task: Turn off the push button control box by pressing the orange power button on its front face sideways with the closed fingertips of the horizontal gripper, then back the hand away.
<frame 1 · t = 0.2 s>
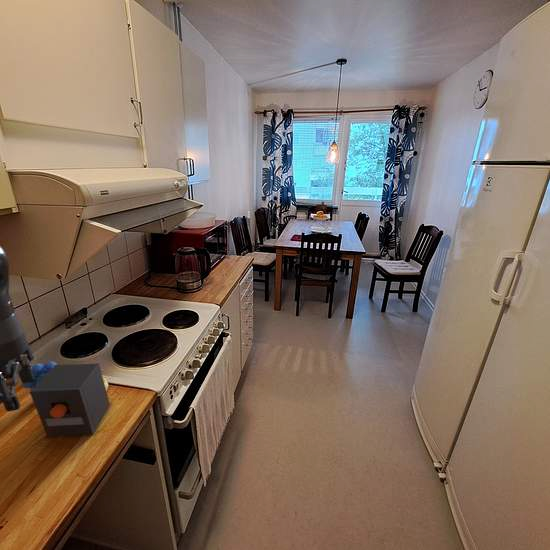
hand: (21, 394, 65), 21 cm above the worktop, tool pointing down, fingers open, 8 cm apart
push button control box: (80, 419, 83), on the worktop
bread roll: (93, 392, 93), on the worktop
grapes: (52, 394, 92), on the worktop
power button: (58, 411, 74), point 10 cm above the worktop, slide at 0.1 cm
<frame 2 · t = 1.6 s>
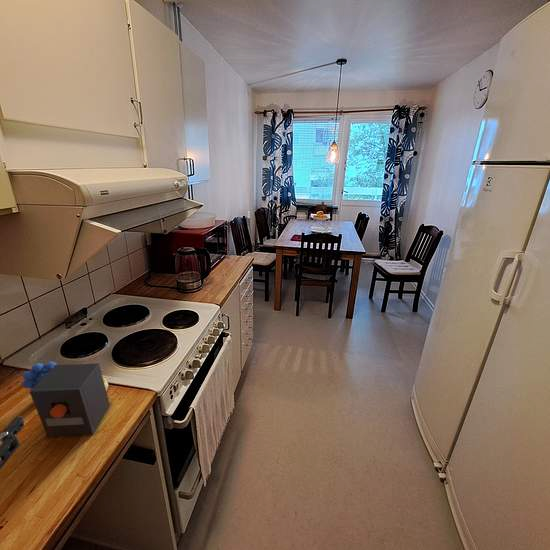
nothing on the worktop moved.
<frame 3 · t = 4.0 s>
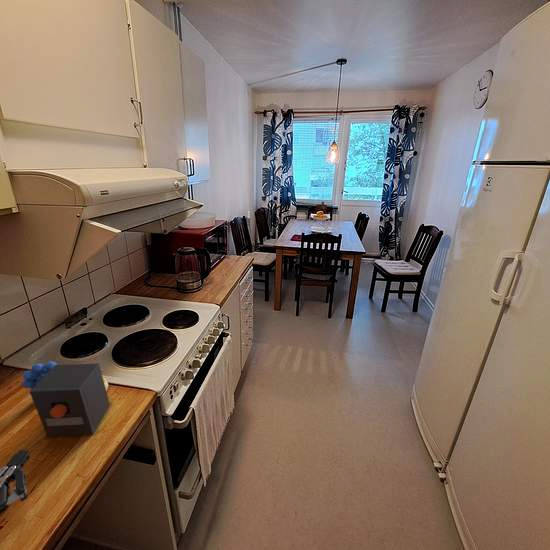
hand: (25, 452, 63), 10 cm above the worktop, tool horizontal, fingers closed
nothing on the worktop moved.
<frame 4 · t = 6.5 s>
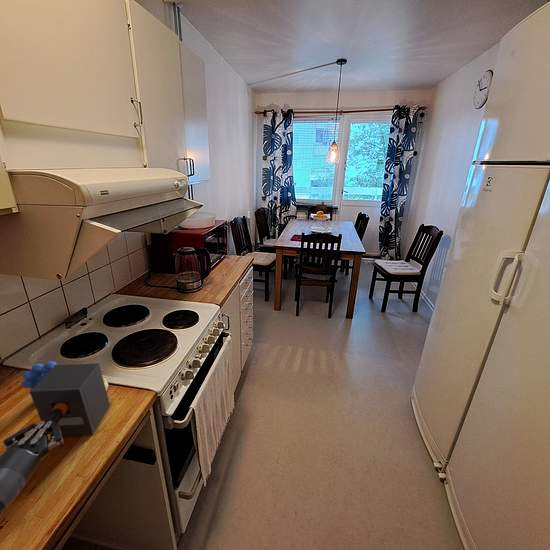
hand: (58, 411, 74), 10 cm above the worktop, tool horizontal, fingers closed
power button: (60, 409, 74), point 10 cm above the worktop, slide at -0.6 cm, touching gripper
everything else where it was.
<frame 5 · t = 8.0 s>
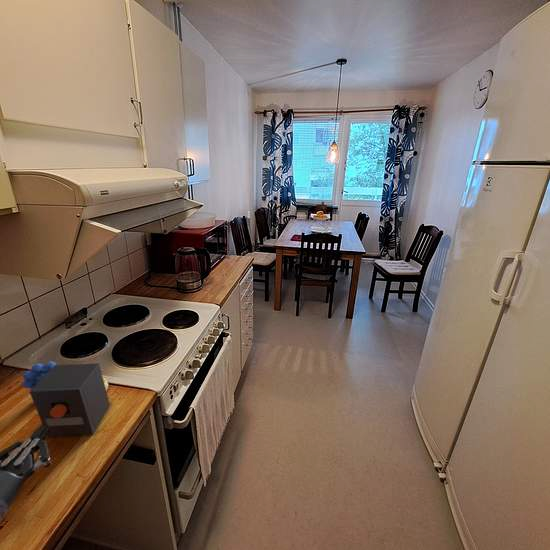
hand: (46, 427, 69), 10 cm above the worktop, tool horizontal, fingers closed
power button: (58, 411, 74), point 10 cm above the worktop, slide at 0.1 cm
everything else where it was.
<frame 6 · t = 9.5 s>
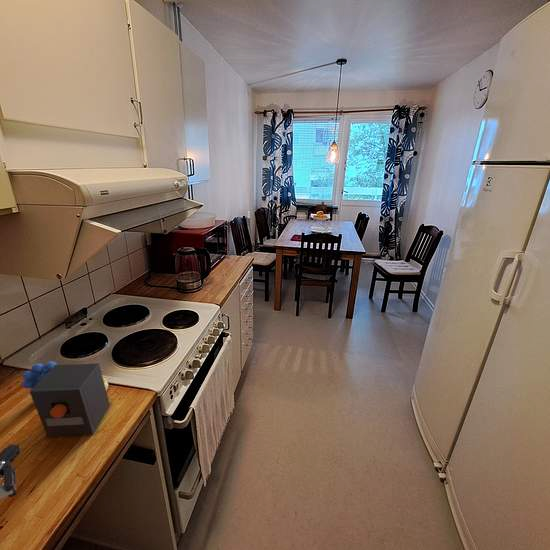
hand: (15, 447, 60), 14 cm above the worktop, tool horizontal, fingers closed
nothing on the worktop moved.
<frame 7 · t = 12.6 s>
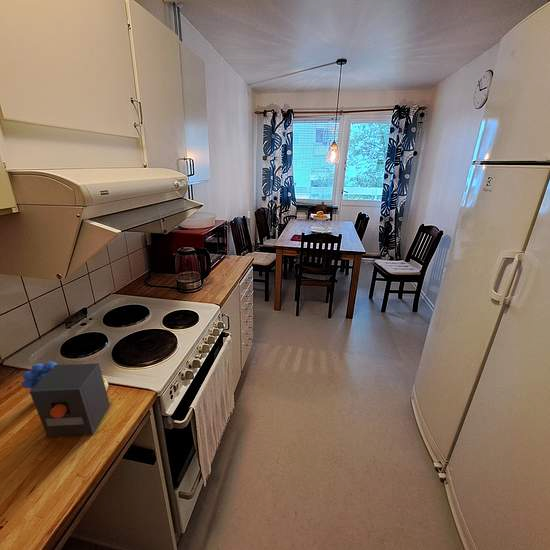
nothing on the worktop moved.
at the end: power button pushed in 0.8 cm at the most during the clip, back to where it started at the end; power button slide at 0.1 cm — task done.
